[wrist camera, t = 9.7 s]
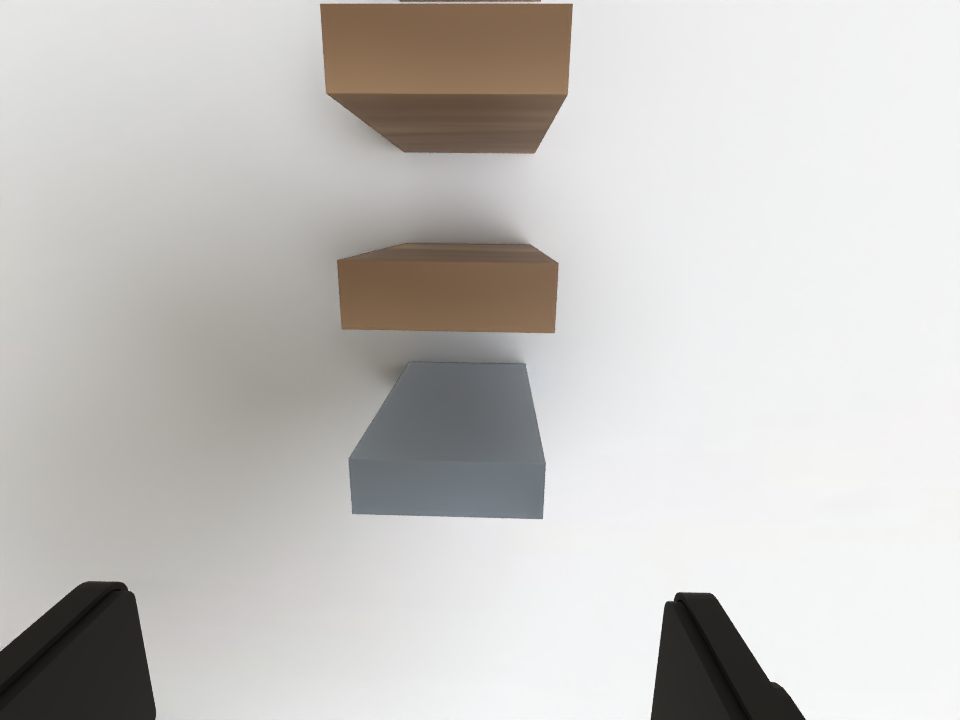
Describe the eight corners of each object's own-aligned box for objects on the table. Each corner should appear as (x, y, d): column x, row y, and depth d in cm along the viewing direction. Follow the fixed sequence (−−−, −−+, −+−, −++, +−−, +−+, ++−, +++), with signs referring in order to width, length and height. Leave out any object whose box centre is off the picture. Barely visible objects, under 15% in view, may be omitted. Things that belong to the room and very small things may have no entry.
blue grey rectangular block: (524, 399, 21) (542, 519, 13) (410, 396, 22) (352, 513, 13) (525, 363, 21) (545, 463, 12) (409, 361, 21) (348, 458, 12)
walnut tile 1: (529, 284, 20) (554, 332, 11) (408, 282, 20) (341, 329, 12) (531, 244, 20) (558, 263, 11) (406, 242, 20) (337, 259, 11)
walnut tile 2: (534, 153, 19) (567, 94, 10) (404, 152, 19) (326, 93, 10) (536, 107, 18) (572, 3, 10) (403, 106, 18) (320, 4, 10)
